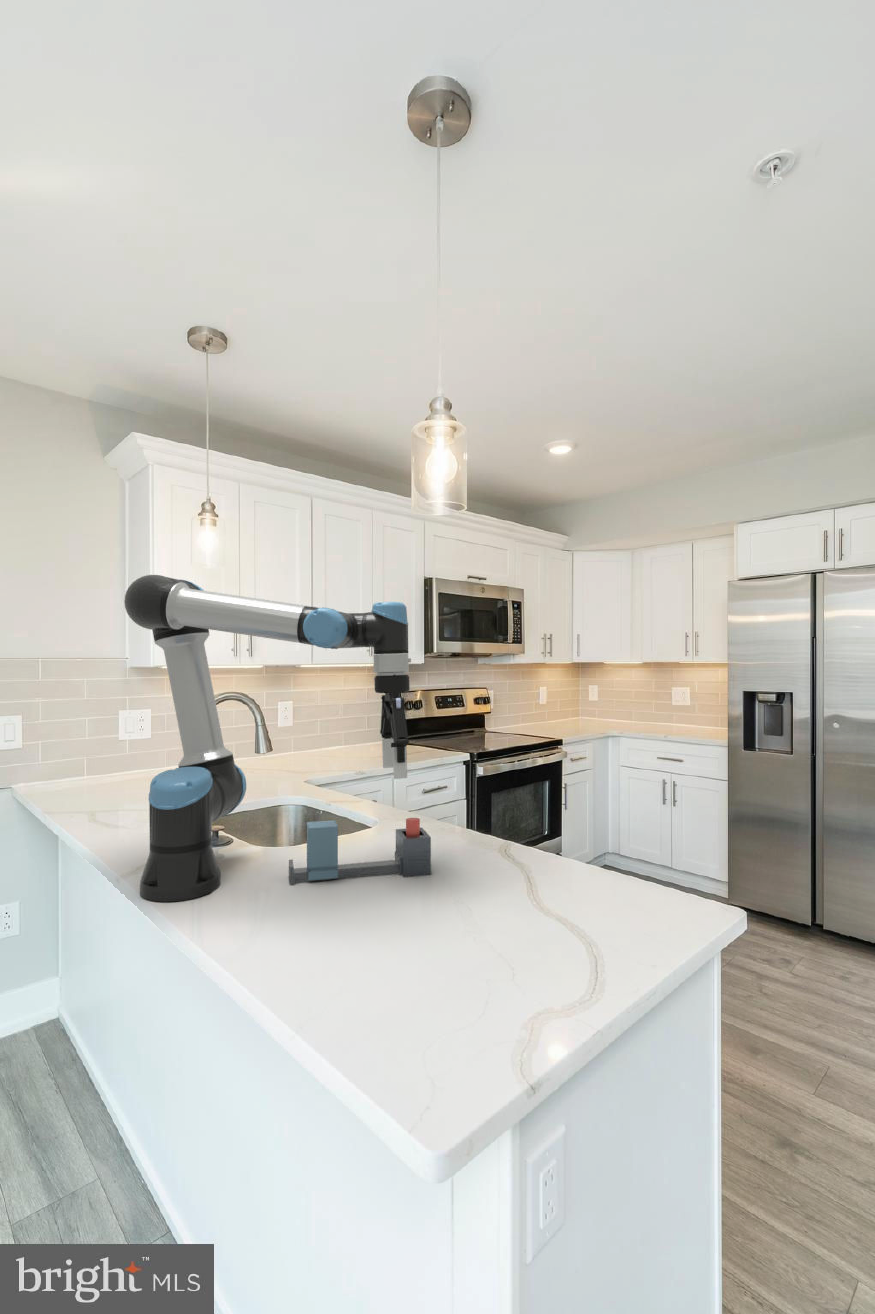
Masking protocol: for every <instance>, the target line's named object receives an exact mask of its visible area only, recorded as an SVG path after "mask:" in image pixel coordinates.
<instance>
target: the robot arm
mask: <svg viewBox="0 0 875 1314" xmlns="http://www.w3.org/2000/svg"><path fill="white" fill-rule="evenodd" d="M124 608H125V611H126V613H127V615H128V617H129V618H130V619H131V620H132V622H134V624H136V625H138V626H139V627H141V628H143V629H147V630H152V636H153V641H154V644H155V645H156V646H158V647H160V648H161V649H162V650H163V655H164V658H165V664H166V669H167V675H168V678H169V679H168V680H169V685H170V690H171V695H172V700H173V705H174V710H175V711H174V712H175V715H176V722H177V727H178V731H179V737H180V741H181V747H182V748H181V749H182V752H183V757H182V758H181V760H180V761H179V762H178V765H177V766H178V767H177V768H174V769H167V770H165V771H163V772H160V773H158V774H157V775H155V776H154V777H153V778H152V780H151V781H150V784H149V785H150V786H149V793H148V803H149V804H148V807H149V810H148V811H149V812H148V814H149V815H148V816H149V818H148V819H149V855H148V857H147V860H146V863H145V866H144V868H143V869H144V870H143V871H142V875H141V879H140V881H139V894H140V896H141V897H142V898H143V899H145V900H149V901H155V902H165V903H168V902H180V901H187V900H191V899H196V898H201V897H202V896H206V895H208V894H211V893H212V892H215V891H216V890H217V889H219V887H220V886H221V884H222V883H221V882H222V881H221V880H222V879H221V878H222V877H221V876H222V874H221V869H220V866H219V863H218V860H217V858H216V855H215V852H214V850H213V846H212V837H213V836H212V833H213V832H212V830H213V829H212V828H213V827H212V826H213V825H212V823H213V822H215V821H217V820H218V819H221V818H223V817H226V816H227V815H229V814H231V813H232V812H233V811H234V810H235V809H236V808H237V807H238V806H239V805H240V804H241V803H242V801H243V799H244V797H245V795H246V791H247V780H246V779H247V778H246V776H245V774H244V771H243V770H242V769H241V767H239V766H238V765H236V764H235V760H234V758H235V757H234V754H233V752H232V751H231V750H229V749H228V748H226V746H225V745H224V739H223V733H222V730H221V725H220V719H219V713H218V709H217V703H216V699H215V693H214V688H213V683H212V678H211V677H212V676H211V673H210V669H209V663H208V657H207V651H206V648H205V642H207V640H208V638H209V637H210V631H211V630H212V631H217V632H225V633H229V634H230V633H231V634H237V635H245V636H249V637H257V638H264V639H269V640H271V639H272V640H278V641H285V642H291V643H298V644H302V645H303V644H304V645H309V646H315V647H318V648H322V649H331V650H337V649H351V648H352V649H354V648H357V649H358V648H373V672H374V673H375V674H376V675H375V677H373V678H374V691H375V692H374V693H377V694H382V695H381V697H380V698H381V713H380V714H381V716H380V729H379V733H380V735H381V738H382V739H381V743H382V749H381V750H382V768H383V769H388V768H389V769H390V768H393V779H394V780H398V779H408V759H407V758H408V757H407V756H408V755H407V754H408V752H407V746H408V745H409V743H410V741H409V735H408V726H407V718H406V717H407V716H406V710H405V709H406V708H405V698H404V697H401V693H408V692H410V690H411V689H410V686H411V685H410V676H409V675H408V674H407V673H408V672H409V671H410V669H409V668H410V666H409V663H411V662H412V659H411V657H409V622H408V611H407V606H406V604H404V602H400V601H384V602H374V603H373V604H372V609H371V611H369V612H348V613H347V612H342V611H338V610H336V609H334V608H329V607H316V606H308V605H303V604H297V603H289V602H283V601H275V600H269V599H263V598H257V597H255V598H254V597H249V596H248V597H247V596H240V595H237V594H236V595H235V594H228V593H221V592H220V593H219V592H216V591H215V592H214V591H207V590H204V589H203V587H201V586H199V585H198V584H195V583H193V582H192V581H189V580H186V579H177V578H173V577H169V576H164V575H161V574H160V575H159V574H148V575H147V574H146V575H143V576H140V577H139V578H137V579H136V580H134V581H132V583H131V584H130V585H129V587H127V589H126V591H125V594H124Z"/></svg>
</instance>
